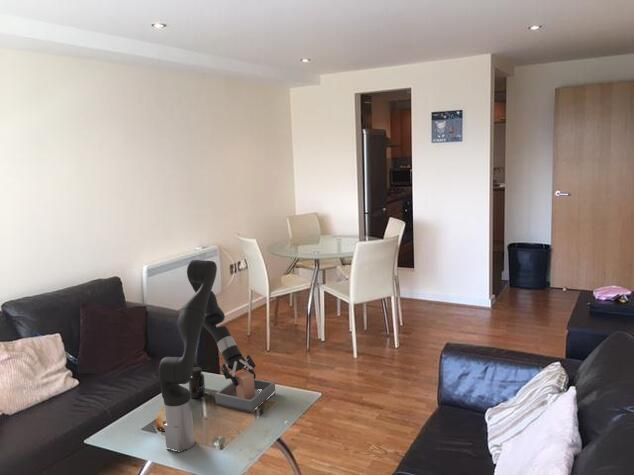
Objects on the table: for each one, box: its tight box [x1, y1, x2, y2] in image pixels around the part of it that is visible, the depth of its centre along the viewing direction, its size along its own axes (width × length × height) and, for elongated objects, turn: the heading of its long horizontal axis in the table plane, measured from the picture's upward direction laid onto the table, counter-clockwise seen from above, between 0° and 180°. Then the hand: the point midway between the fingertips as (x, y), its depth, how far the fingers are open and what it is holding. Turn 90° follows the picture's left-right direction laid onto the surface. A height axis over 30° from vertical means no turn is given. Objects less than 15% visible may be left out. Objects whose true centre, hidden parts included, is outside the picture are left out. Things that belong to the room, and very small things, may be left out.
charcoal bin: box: [214, 378, 276, 414], centre depth 222 cm, size 18×18×5 cm
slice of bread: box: [155, 406, 166, 431], centre depth 210 cm, size 18×18×4 cm
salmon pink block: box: [234, 370, 255, 400], centre depth 221 cm, size 6×6×10 cm
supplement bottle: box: [187, 366, 206, 399], centre depth 227 cm, size 7×7×12 cm
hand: (246, 382), depth 220 cm, fingers open, 8 cm apart
